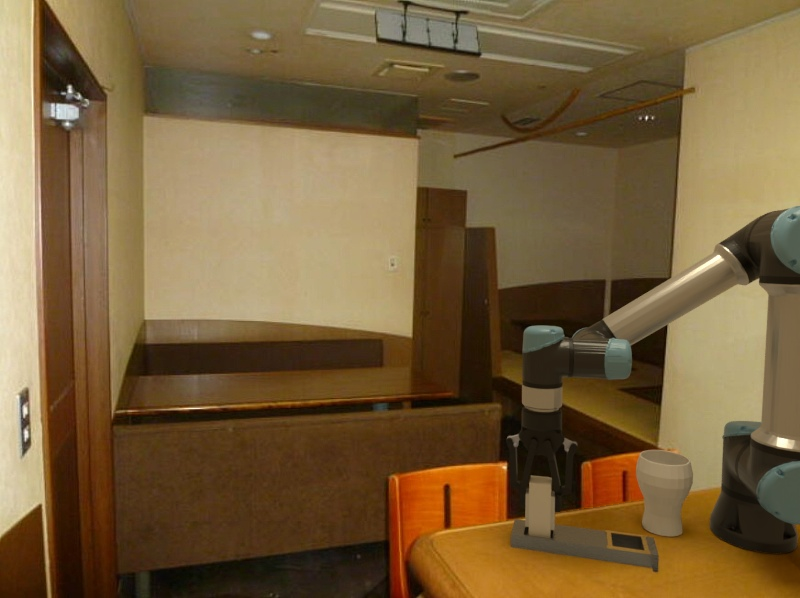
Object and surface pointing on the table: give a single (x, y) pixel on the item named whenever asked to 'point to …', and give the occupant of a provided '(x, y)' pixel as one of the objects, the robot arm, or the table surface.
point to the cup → (663, 489)
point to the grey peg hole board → (590, 544)
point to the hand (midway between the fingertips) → (540, 525)
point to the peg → (540, 506)
